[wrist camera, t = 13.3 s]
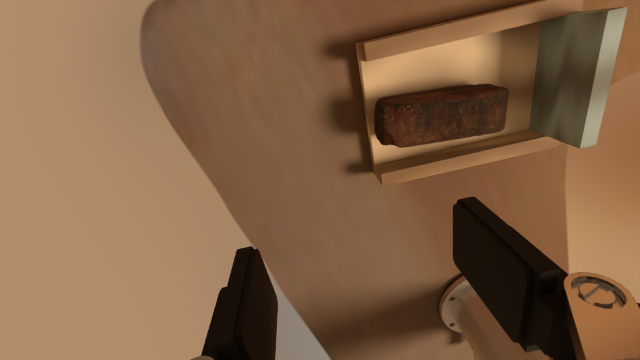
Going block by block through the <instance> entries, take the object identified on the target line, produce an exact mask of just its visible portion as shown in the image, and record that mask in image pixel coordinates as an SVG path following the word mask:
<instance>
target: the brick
mask: <svg viewBox="0 0 640 360" xmlns="http://www.w3.org/2000/svg"><path fill="white" fill-rule="evenodd" d="M508 99H509V90H508V89H507V88H505V87H500V86H495V85H493V84H477V85H472V84H470V85H465V86H457V87H447V88H441V89H433V90H427V91H421V92H415V93H408V94H401V95H395V96H388V97H382V98H380V99H378V101H377V102H376V105H375V121H374V123H375V124H374V125H375V127H374V131H375V135H376V138H377V139H378V140H379V142H380V143H381V144H382V145H386V146H388V145H394V146H396V147H399V148H405V147H413V146H418V145H426V144H432V143H438V142H444V141H451V140H457V139H463V138H470V137H474V136H482V135H487V134H494V133H498V132H501V131H503V130H504V128H505V124H506V114H507V106H508Z"/></svg>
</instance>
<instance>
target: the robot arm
mask: <svg viewBox="0 0 640 360" xmlns="http://www.w3.org/2000/svg"><path fill="white" fill-rule="evenodd" d="M453 260H454V262H455V265H456V266H457V268H458V269H459V270H460V272H461V273H462V274H463V276H462V277H460V278H459V279H457V280H456V281H455V282H454V283H453V284H451V285H450V286H449V288H448V289H447V290H446V291H445V293H444V294H443V296H442V298H441V301H440V304H439V312H440V316H441V318H442V320H443V322H444V323H445V324H446V326H447V327H449V328H450V329H451V330H453V331H456V332H459V333H463V334H464V336H465V338H466V340H467V341H468V343H469V345H470V346H471V348H472V350H473V351H474V358H475V360H640V304H639V303H636V301H635V299H634V297H633V296H632V294H631V293H630V292H629V290H627V289H626V288H625V287H624V286H622V285H621V284H619V283H618V282H616V281H614V280H612V279H610V278H607V277H605V276H602V275H599V274H594V273H588V272H578V273H572V274H570V275H568V274H567V273H566V272H565V271H564V270H562V269H561V268H560V267H559V266H558V265H556V264H555V263H554V262H553V261H552V260H550V259H549V258H548V257H547V256H546V255H544V254H543V253H542V252H541V251H540V250H538V249H537V248H536V247H535V246H534V245H532V244H531V243H530V242H529V241H528V240H526V239H525V238H524V237H523V236H522V235H521V234H519V233H518V232H517V231H516V230H515V229H513V228H512V227H511V226H509V225H508V224H506V223H505V222H504V221H503V220H502V219H500V218H499V217H498V216H497V215H496V214H495V213H493V212H492V211H491V210H490V209H489V208H487V207H486V206H485V205H484V204H483V203H481V202H480V201H479V200H478V199H477V198H475V197H468V198H463V199H459V200H458V201H457V204H454V205H453ZM277 312H278V301H277V296H276V294H275V291H274V288H273V286H272V283H271V281H270V278H269V275H268V273H267V270H266V268H265V265H264V262H263V260H262V257H261V255H260V252H259V250H258V249H254V248H253V247H252V246H250V247H246V248H241V249H238V250H237V251H236V255H235V258H234V262H233V266H232V270H231V274H230V277H229V281H228V285H227V287H224V288H222V289H221V290H220V292H219V295H218V299H217V302H216V306H215V309H214V312H213V316H212V319H211V323H210V326H209V330H208V333H207V337H206V340H205V344H204V347H203V351H202V354H201V356H199V357H195V358H193V359H191V360H275V351H276V331H277V330H276V329H277Z"/></svg>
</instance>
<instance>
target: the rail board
mask: <svg viewBox="0 0 640 360" xmlns="http://www.w3.org/2000/svg"><path fill="white" fill-rule="evenodd" d="M582 6H583V0H538V1H534V2H530V3H526V4H521V5H517V6H513V7H509V8H504V9H500V10H496V11H491V12H487V13H483V14H479V15H474V16H470V17H466V18H462V19H457V20H453V21H449V22H445V23H440V24H436V25H432V26H428V27H423V28H419V29H415V30H411V31H406V32H402V33H398V34H393V35H389V36H385V37H381V38H376V39H372V40H368V41H364V42H359V43H355V44H356V51H357V58H358V66H359V73H360V80H361V87H362V94H363V101H364V108H365V115H366V122H367V130H368V137H369V144H370V151H371V158H372V165H373V172H374V174H375V175H376V177H377V179H378V180H379V182H380V183H381V185H382V186H388V185H392V184H396V183H401V182H405V181H410V180H414V179H418V178H423V177H427V176H431V175H436V174H440V173H445V172H449V171H453V170H458V169H462V168H467V167H471V166H475V165H480V164H484V163H488V162H493V161H497V160H502V159H506V158H510V157H515V156H519V155H523V154H528V153H532V152H537V151H541V150H545V149H550V148H554V147H558V146H559V142H560V141H561V142H564V143H566V144H569V145H572V146H575V147H577V148H584V147H589V146H593V145H596V143H597V139H598V134H599V130H600V126H601V121H602V117H603V112H604V108H605V104H606V99H607V95H608V90H609V86H610V82H611V78H612V73H613V69H614V64H615V60H616V56H617V51H618V47H619V43H620V38H621V34H622V30H623V25H624V21H625V17H626V12H627V8H628V6H627V7H618V8H609V9H600V10H591V11H582ZM470 84H472V85H477V84H493V85H495V86H500V87H505V88H507V89H508V90H509V99H508V106H507V114H506V124H505V128H504V130H503V131H501V132H498V133H494V134H487V135H482V136H474V137H470V138H463V139H457V140H451V141H444V142H438V143H432V144H426V145H418V146H413V147H405V148H399V147H396V146H394V145H388V146H386V145H382V144H381V143H380V142H379V140H378V139H377V138H376V135H375V131H374V127H375V125H374V124H375V123H374V121H375V105H376V102H377V101H378V99H380V98H382V97H388V96H395V95H401V94H408V93H415V92H421V91H427V90H433V89H441V88H447V87H457V86H465V85H470Z"/></svg>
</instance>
